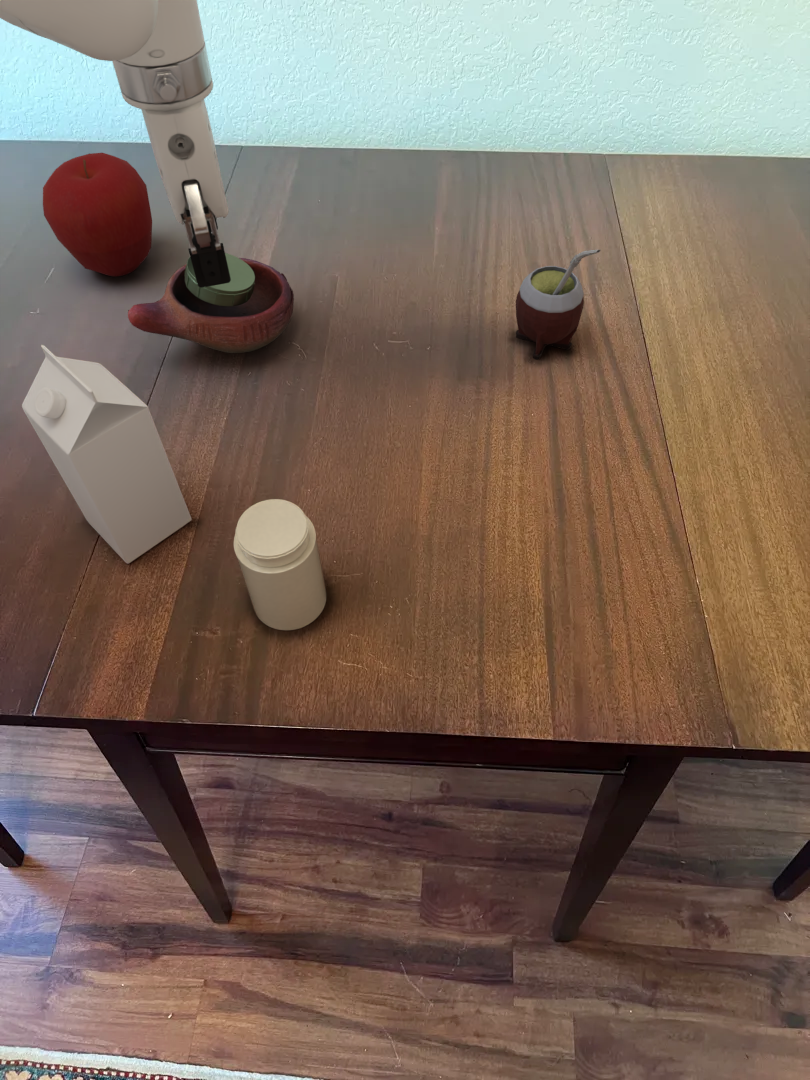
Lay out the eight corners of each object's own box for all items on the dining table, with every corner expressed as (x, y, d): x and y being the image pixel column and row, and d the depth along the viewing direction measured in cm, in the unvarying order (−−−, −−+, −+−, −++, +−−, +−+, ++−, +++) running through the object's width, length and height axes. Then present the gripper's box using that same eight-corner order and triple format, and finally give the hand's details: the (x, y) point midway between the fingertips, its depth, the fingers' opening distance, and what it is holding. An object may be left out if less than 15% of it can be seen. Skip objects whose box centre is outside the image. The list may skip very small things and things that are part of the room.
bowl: (229, 286, 93) (215, 226, 87) (318, 321, 89) (310, 260, 83) (139, 367, 85) (116, 307, 79) (232, 409, 81) (216, 349, 75)
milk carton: (150, 479, 76) (82, 322, 60) (193, 521, 73) (133, 367, 57) (86, 521, 73) (-2, 367, 58) (128, 566, 70) (46, 417, 55)
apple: (112, 227, 100) (75, 122, 89) (187, 250, 97) (158, 144, 86) (49, 280, 94) (2, 174, 83) (127, 306, 91) (88, 200, 80)
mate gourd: (521, 315, 90) (538, 192, 77) (588, 330, 88) (617, 207, 76) (502, 356, 86) (517, 234, 73) (572, 373, 84) (599, 251, 72)
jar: (252, 634, 66) (228, 565, 57) (253, 570, 70) (230, 497, 61) (328, 626, 66) (315, 557, 58) (324, 564, 70) (312, 490, 61)
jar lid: (261, 283, 84) (264, 268, 82) (237, 315, 79) (240, 299, 78) (200, 258, 83) (202, 242, 82) (173, 288, 78) (175, 272, 77)
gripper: (224, 114, 60) (260, 303, 74) (196, 21, 69) (232, 204, 84) (124, 129, 58) (180, 318, 73) (110, 32, 68) (162, 215, 82)
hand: (208, 256), depth 78 cm, fingers open, 8 cm apart
